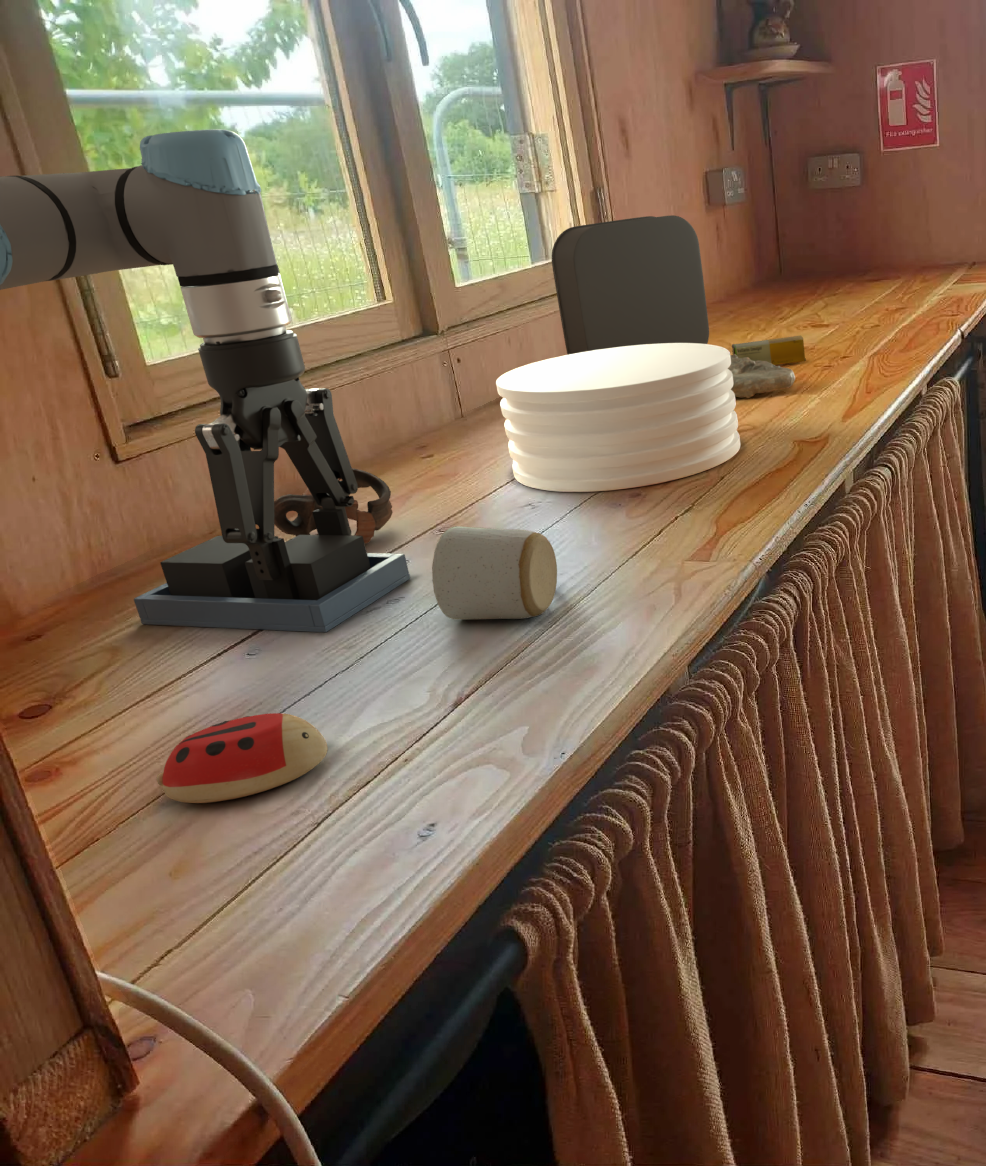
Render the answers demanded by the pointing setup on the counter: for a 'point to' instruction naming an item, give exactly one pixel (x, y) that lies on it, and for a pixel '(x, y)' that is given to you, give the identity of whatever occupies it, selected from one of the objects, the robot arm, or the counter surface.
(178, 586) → the seated pad
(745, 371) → the elongated rock
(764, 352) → the medication box
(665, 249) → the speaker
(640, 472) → the plate stack
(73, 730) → the counter surface
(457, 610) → the ceramic mug
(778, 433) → the counter surface
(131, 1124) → the counter surface
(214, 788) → the ladybug figurine
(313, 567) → the loose pad
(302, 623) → the pad tray
